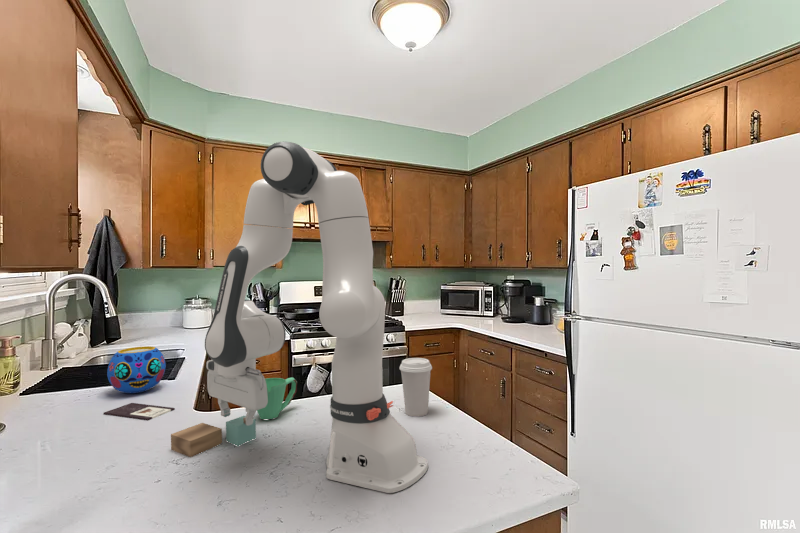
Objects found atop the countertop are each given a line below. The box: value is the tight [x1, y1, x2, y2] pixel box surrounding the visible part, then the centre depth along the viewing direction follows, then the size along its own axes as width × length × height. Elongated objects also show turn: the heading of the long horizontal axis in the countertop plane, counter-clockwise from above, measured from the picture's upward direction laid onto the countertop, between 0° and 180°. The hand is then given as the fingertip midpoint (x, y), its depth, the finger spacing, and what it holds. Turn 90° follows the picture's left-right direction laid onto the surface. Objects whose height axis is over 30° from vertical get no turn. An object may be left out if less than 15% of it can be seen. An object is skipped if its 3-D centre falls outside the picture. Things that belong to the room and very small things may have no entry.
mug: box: [256, 377, 298, 420], centre depth 118 cm, size 15×10×10 cm
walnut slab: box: [170, 422, 223, 458], centre depth 97 cm, size 8×8×4 cm
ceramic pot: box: [106, 345, 167, 394], centre depth 144 cm, size 18×18×15 cm
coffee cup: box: [399, 357, 433, 418], centre depth 117 cm, size 10×10×15 cm
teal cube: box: [225, 415, 257, 447], centre depth 100 cm, size 5×5×5 cm
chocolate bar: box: [102, 402, 176, 421], centre depth 122 cm, size 9×1×18 cm
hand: (236, 420), depth 100 cm, fingers open, 8 cm apart
